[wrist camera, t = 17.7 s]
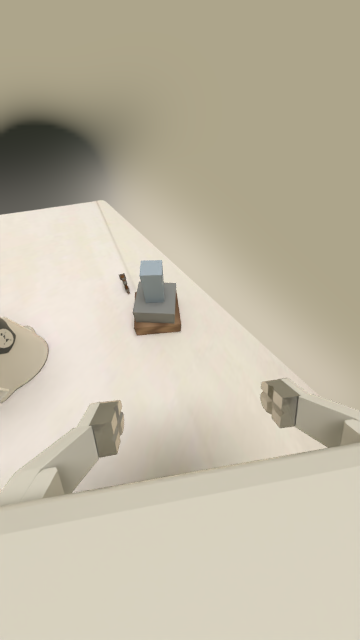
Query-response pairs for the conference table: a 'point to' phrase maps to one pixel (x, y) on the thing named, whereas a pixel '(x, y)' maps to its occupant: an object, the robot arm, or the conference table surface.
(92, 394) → the conference table surface
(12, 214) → the conference table surface
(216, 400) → the conference table surface
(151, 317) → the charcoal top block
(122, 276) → the wooden post with brackets
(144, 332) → the walnut base block
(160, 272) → the slate blue block
